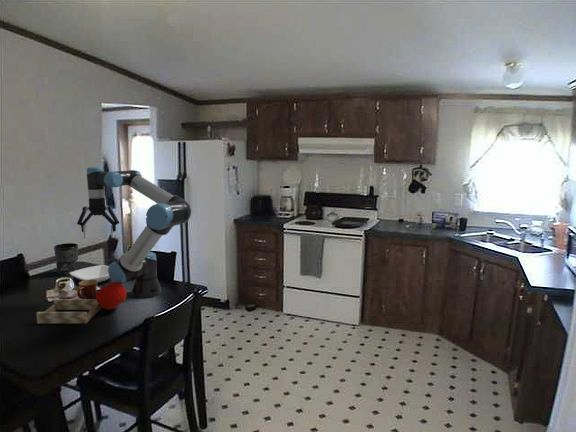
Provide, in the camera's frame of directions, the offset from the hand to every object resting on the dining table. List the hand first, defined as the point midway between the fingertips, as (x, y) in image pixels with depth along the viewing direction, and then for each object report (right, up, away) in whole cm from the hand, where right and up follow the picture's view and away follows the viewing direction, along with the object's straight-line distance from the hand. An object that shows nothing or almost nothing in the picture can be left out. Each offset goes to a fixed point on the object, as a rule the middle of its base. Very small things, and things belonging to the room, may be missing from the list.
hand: (99, 237), depth 210 cm
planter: (-38, -24, +40) cm, 60 cm away
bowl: (-15, -27, +27) cm, 41 cm away
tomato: (+16, -32, -13) cm, 38 cm away
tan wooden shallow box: (-4, -36, -20) cm, 41 cm away
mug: (-4, -33, -5) cm, 34 cm away
